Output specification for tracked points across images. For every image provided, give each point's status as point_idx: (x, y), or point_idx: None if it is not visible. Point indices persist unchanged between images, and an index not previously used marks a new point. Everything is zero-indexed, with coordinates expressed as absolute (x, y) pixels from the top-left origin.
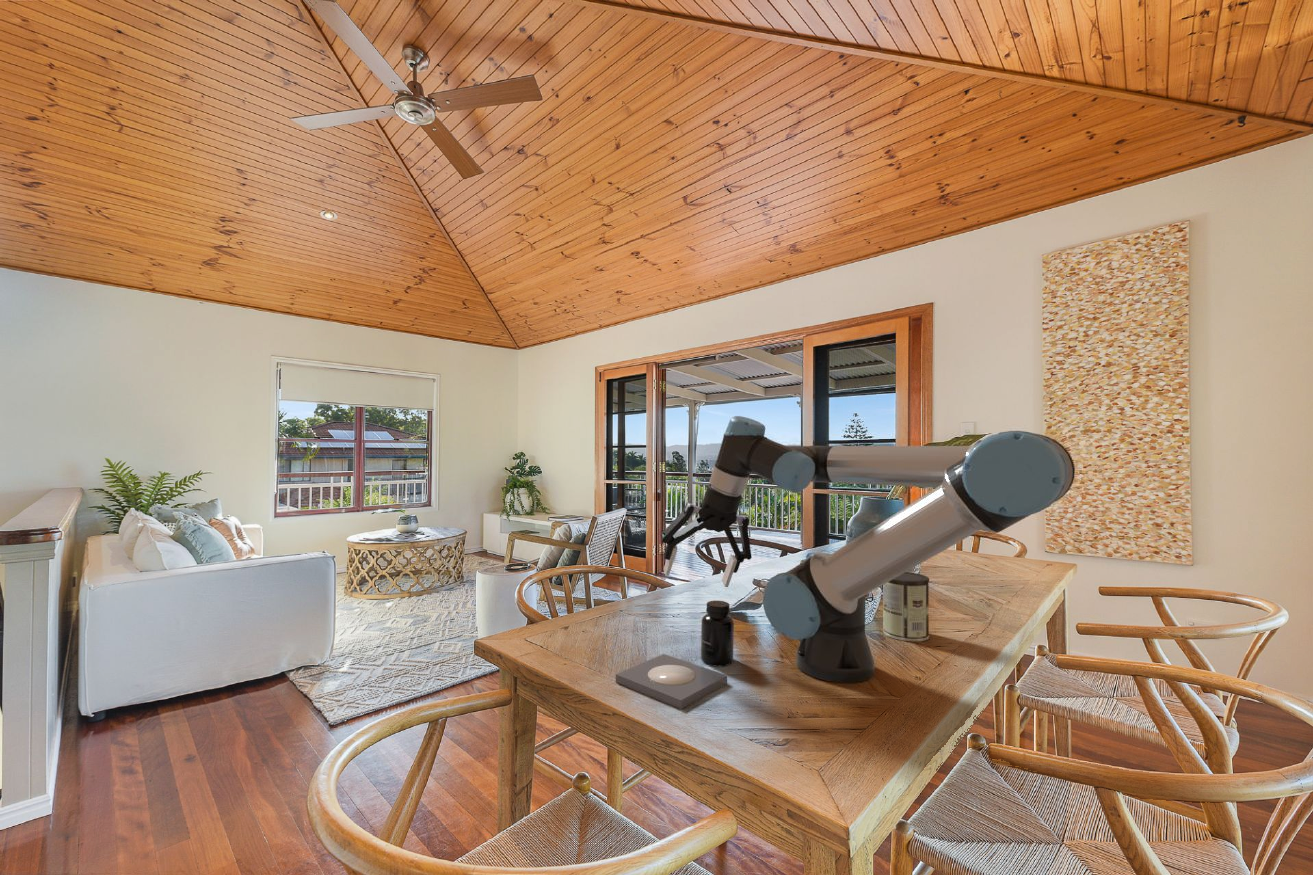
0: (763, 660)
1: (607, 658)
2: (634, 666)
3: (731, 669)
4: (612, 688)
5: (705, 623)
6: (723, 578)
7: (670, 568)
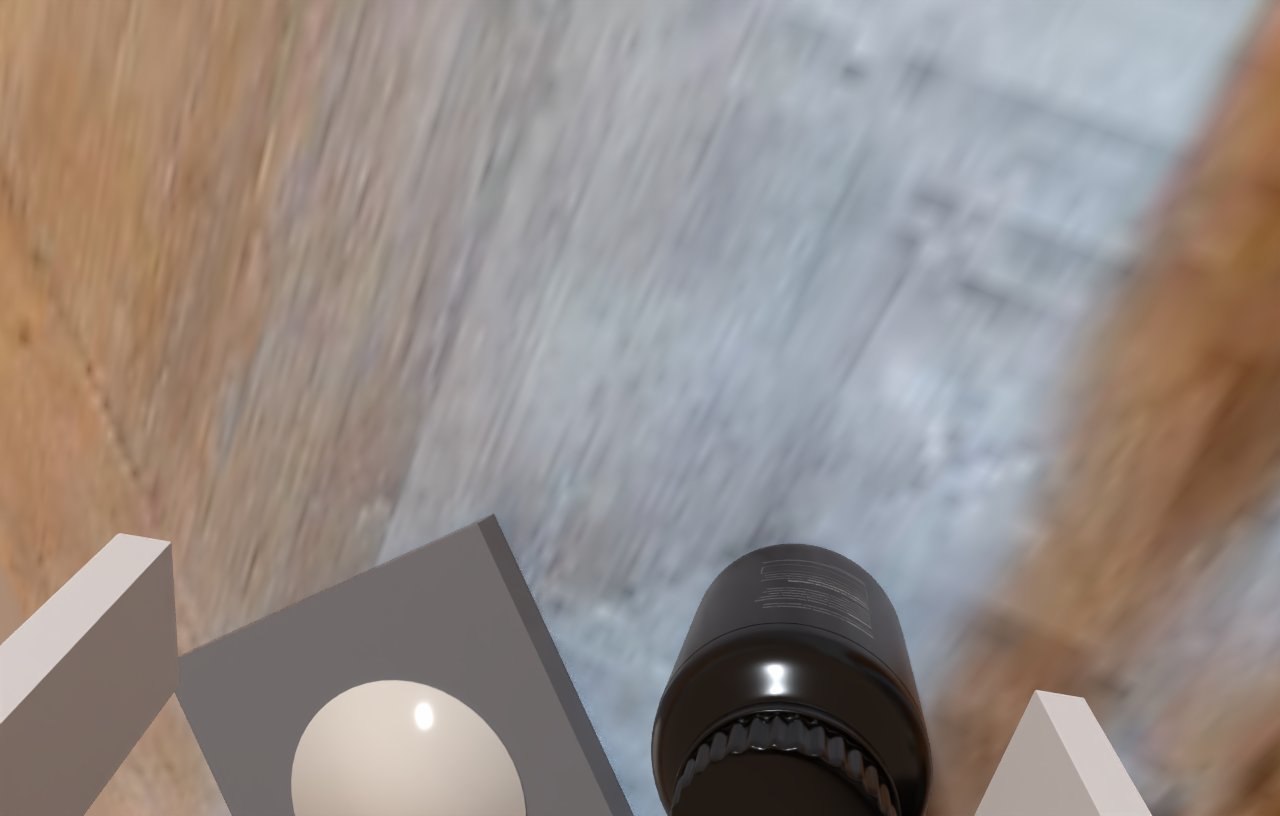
0: None
1: (226, 348)
2: (270, 619)
3: None
4: None
5: (654, 777)
6: (1040, 761)
7: (100, 775)
